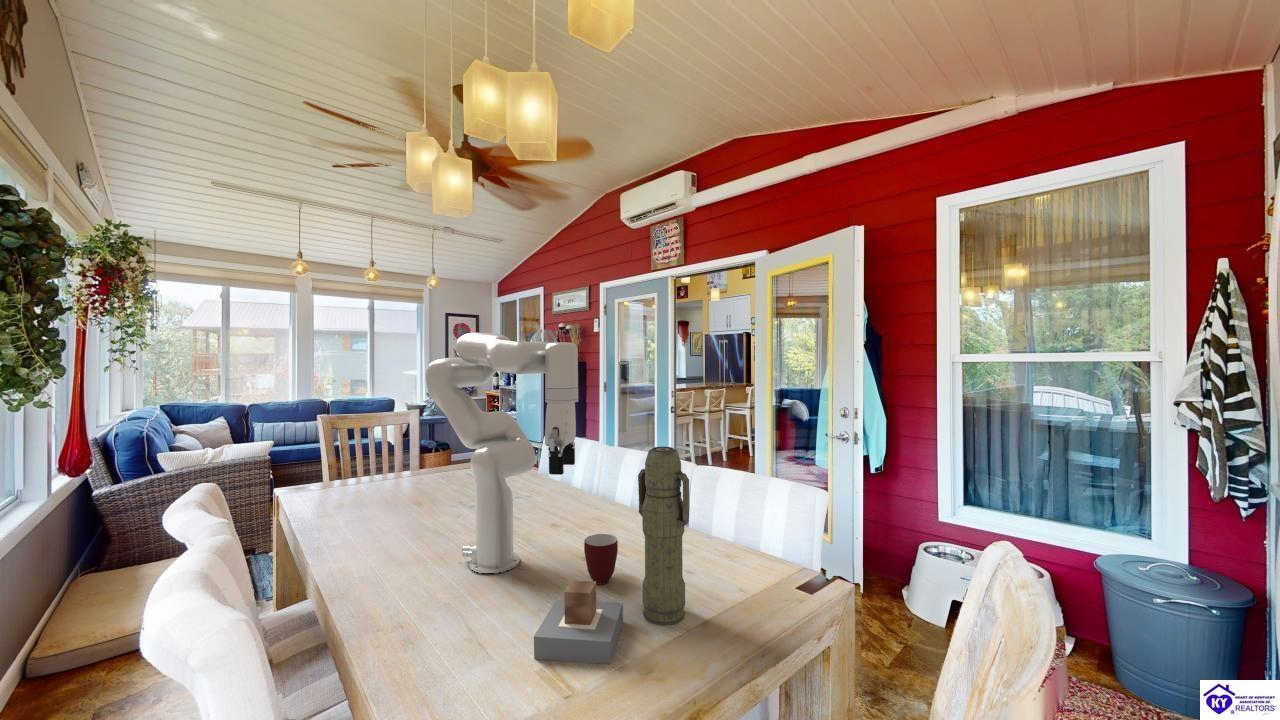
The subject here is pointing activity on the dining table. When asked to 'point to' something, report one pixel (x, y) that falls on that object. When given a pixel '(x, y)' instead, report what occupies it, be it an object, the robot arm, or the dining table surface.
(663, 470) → the thermos
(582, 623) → the walnut block
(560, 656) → the slate pedestal
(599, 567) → the mug
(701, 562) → the dining table surface
